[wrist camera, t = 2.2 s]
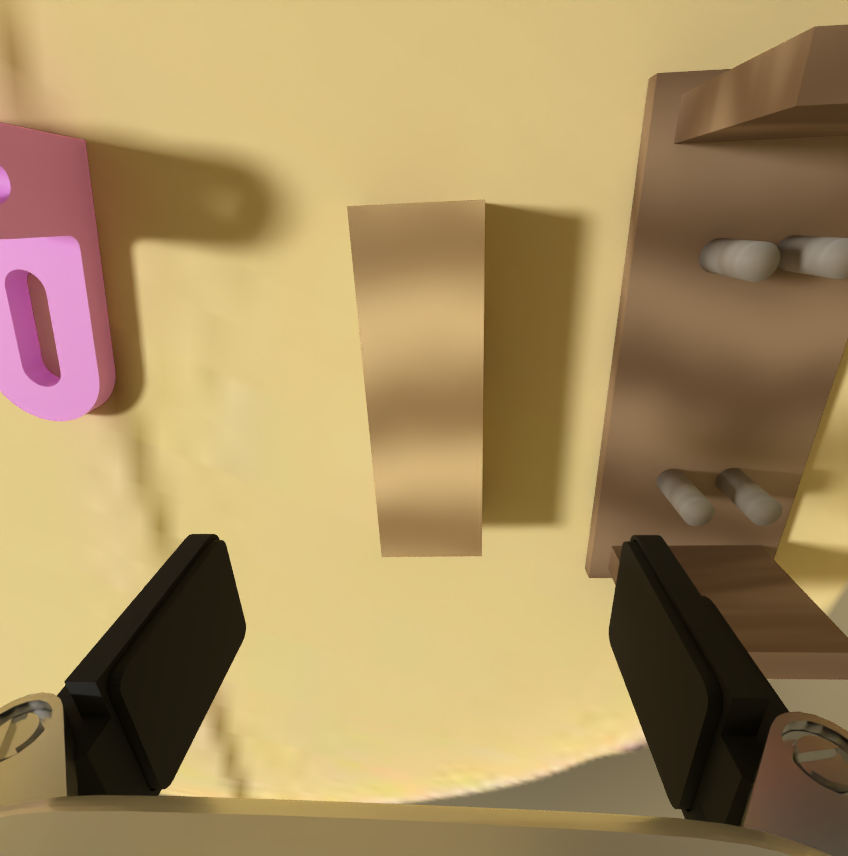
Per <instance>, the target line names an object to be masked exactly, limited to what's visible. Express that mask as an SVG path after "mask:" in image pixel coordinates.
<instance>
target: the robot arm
mask: <svg viewBox="0 0 848 856" xmlns="http://www.w3.org/2000/svg"><path fill="white" fill-rule="evenodd" d="M245 632H246V623H245V619H244V615H243V611H242V607H241V603H240V599H239V595H238V591H237V587H236V582H235V578H234V574H233V570H232V566H231V562H230V558H229V554H228V550H227V546H226V543H225V542H224V541H223V540H219V537H218V536H217V535H215V534H191V535H189V536H188V537H187V538H186V539H185V540H184V541H183V542H182V543H181V545H180V546H179V547H178V548H177V549H176V551H175V552H174V553H173V554H172V555H171V556H170V558H169V559H168V560H167V561H166V562H165V563H164V565H163V566H162V567H161V568H160V569H159V571H158V572H157V573H156V574H155V575H154V576H153V578H152V579H151V580H150V581H149V582H148V584H147V585H146V586H145V587H144V588H143V589H142V591H141V592H140V593H139V594H138V595H137V597H136V598H135V599H134V600H133V601H132V602H131V604H130V605H129V606H128V607H127V608H126V610H125V611H124V612H123V613H122V614H121V615H120V617H119V618H118V619H117V620H116V621H115V623H114V624H113V625H112V626H111V627H110V628H109V630H108V631H107V632H106V633H105V634H104V635H103V637H102V638H101V639H100V640H99V641H98V643H97V644H96V645H95V646H94V647H93V648H92V650H91V651H90V652H89V653H88V654H87V656H86V657H85V658H84V659H83V660H82V661H81V663H80V664H79V665H78V666H77V667H76V669H75V670H74V671H73V672H72V673H71V674H70V676H69V677H68V678H67V679H66V680H65V684H66V685H65V687H64V688H63V689H62V690H61V691H60V693H59V694H58V695H57V696H56V695H54V694H51V693H37V694H31V695H27V696H25V697H22V698H19V699H16V700H14V701H12V702H10V703H8V704H6V705H5V706H3V707H1V708H0V856H848V731H847V730H845V729H843V728H842V727H840V726H838V725H837V724H835V723H833V722H831V721H829V720H826V719H824V718H821V717H819V716H816V715H813V714H808V713H803V712H789V711H788V709H787V708H786V707H785V705H784V704H783V702H782V701H781V699H780V698H779V697H778V695H777V694H776V692H775V691H774V689H773V688H772V686H771V685H770V683H769V682H768V681H767V679H766V678H765V676H764V675H763V673H762V672H761V670H760V669H759V667H758V666H757V665H756V663H755V662H754V660H753V659H752V657H751V656H750V654H749V653H748V652H747V650H746V649H745V647H744V646H743V644H742V643H741V641H740V640H739V639H738V637H737V636H736V634H735V633H734V631H733V630H732V628H731V627H730V626H729V624H728V623H727V621H726V620H725V618H724V617H723V615H722V614H721V613H720V611H719V610H718V608H717V607H716V605H715V604H714V603H713V602H712V601H711V599H710V598H708V597H706V596H701V594H700V593H699V591H698V590H697V588H696V587H695V585H694V584H693V582H692V581H691V579H690V578H689V576H688V575H687V573H686V572H685V570H684V569H683V567H682V566H681V564H680V563H679V561H678V560H677V558H676V557H675V555H674V554H673V552H672V551H671V549H670V548H669V547H668V545H667V544H666V542H665V541H664V539H663V538H662V537H661V536H660V535H633V536H632V537H631V539H630V541H625V542H623V544H622V549H621V556H620V562H619V568H618V575H617V581H616V587H615V594H614V600H613V606H612V613H611V619H610V625H609V639H610V644H611V647H612V650H613V653H614V655H615V658H616V661H617V663H618V666H619V669H620V671H621V674H622V677H623V679H624V682H625V685H626V687H627V690H628V692H629V695H630V698H631V700H632V703H633V706H634V708H635V711H636V714H637V716H638V719H639V722H640V724H641V727H642V730H643V732H644V735H645V738H646V740H647V743H648V746H649V748H650V751H651V754H652V756H653V759H654V761H655V764H656V767H657V769H658V772H659V775H660V777H661V780H662V783H663V785H664V788H665V791H666V793H667V796H668V798H669V801H670V803H671V805H672V806H673V807H674V808H675V809H682V812H683V814H684V817H685V819H679V818H665V817H649V816H634V815H619V814H602V813H588V812H566V811H565V812H564V811H543V810H521V809H499V808H477V807H476V808H475V807H456V806H454V807H453V806H430V805H406V804H382V803H356V802H330V801H304V800H275V799H245V798H215V797H185V796H158V795H159V793H160V791H161V790H162V789H166V788H167V787H168V786H169V785H170V784H171V783H172V781H173V779H174V777H175V775H176V773H177V771H178V769H179V767H180V765H181V763H182V761H183V759H184V757H185V755H186V753H187V751H188V749H189V747H190V745H191V743H192V741H193V739H194V737H195V735H196V733H197V731H198V729H199V727H200V725H201V723H202V721H203V719H204V717H205V715H206V713H207V711H208V710H209V708H210V706H211V704H212V702H213V700H214V698H215V696H216V694H217V692H218V690H219V688H220V686H221V684H222V682H223V680H224V678H225V676H226V674H227V672H228V670H229V668H230V666H231V664H232V662H233V660H234V658H235V656H236V654H237V652H238V650H239V648H240V646H241V644H242V642H243V639H244V637H245Z"/></svg>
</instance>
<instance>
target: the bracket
mask: <svg viewBox="0 0 848 856" xmlns="http://www.w3.org/2000/svg"><path fill="white" fill-rule="evenodd" d="M29 272H30V273H32V274H33V275H35V276H36V277H37V278H38V279H39V280H40V281H41V283H42V284H43V286H44V288H45V290H46V294H47V300H48V305H49V311H50V316H51V322H52V327H53V333H54V338H55V344H56V349H57V355H58V360H59V366H60V371H61V378H60V377H57V376H55V375H54V374H52V373H51V372H50V371H49V370H48V369H47V368H46V367H45V365H44V363H43V360H42V356H41V351H40V345H39V340H38V335H37V330H36V325H35V320H34V315H33V310H32V305H31V299H30V294H29V289H28V284H27V276H28V274H29ZM115 378H116V374H115V364H114V357H113V349H112V341H111V334H110V326H109V318H108V310H107V303H106V295H105V287H104V280H103V272H102V264H101V256H100V249H99V241H98V233H97V226H96V218H95V210H94V202H93V195H92V187H91V179H90V172H89V164H88V156H87V149H86V141H85V140H83V139H78V138H73V137H68V136H63V135H59V134H54V133H49V132H44V131H39V130H34V129H30V128H25V127H20V126H15V125H10V124H5V123H1V122H0V391H1V392H2V394H3V395H4V396H5V397H7V398H8V399H9V400H10V401H11V402H12V403H13V404H15V405H16V406H18V407H19V408H21V409H22V410H24V411H26V412H28V413H30V414H32V415H34V416H36V417H39V418H42V419H46V420H52V421H69V420H73V419H77V418H79V417H81V416H83V415H85V414H87V413H88V412H90V411H92V410H94V409H96V408H97V407H99V406H101V405H102V404H103V403H105V402H106V401H107V399H108V398H109V397H110V395H111V393H112V391H113V389H114V386H115Z"/></svg>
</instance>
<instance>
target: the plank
mask: <svg viewBox="0 0 848 856" xmlns="http://www.w3.org/2000/svg"><path fill="white" fill-rule="evenodd" d="M347 210H348V220H349V230H350V240H351V250H352V260H353V270H354V280H355V290H356V301H357V311H358V321H359V331H360V341H361V351H362V361H363V371H364V381H365V391H366V401H367V411H368V422H369V432H370V442H371V452H372V462H373V472H374V482H375V492H376V502H377V512H378V522H379V532H380V543H381V553H382V557H434V556H482V466H483V362H484V259H485V200H468V201H448V202H427V203H406V204H385V205H365V206H347Z"/></svg>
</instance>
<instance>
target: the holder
mask: <svg viewBox="0 0 848 856" xmlns="http://www.w3.org/2000/svg"><path fill="white" fill-rule="evenodd" d="M847 340H848V25H834V26H818V27H813V28H811V29H809V30H807V31H805V32H803V33H801V34H799V35H798V36H796V37H794V38H792V39H790V40H788V41H786V42H784V43H782V44H780V45H778V46H776V47H774V48H772V49H770V50H768V51H766V52H764V53H762V54H760V55H758V56H756V57H754V58H752V59H750V60H748V61H746V62H744V63H742V64H740V65H739V66H737V67H735V68H733V69H723V70H706V71H688V72H670V73H657V74H656V75H654V76H653V77H651V78H650V79H649V82H648V90H647V98H646V105H645V113H644V121H643V128H642V136H641V144H640V151H639V159H638V167H637V174H636V182H635V190H634V197H633V205H632V213H631V221H630V228H629V236H628V244H627V251H626V259H625V267H624V274H623V282H622V290H621V297H620V305H619V313H618V320H617V328H616V336H615V343H614V351H613V359H612V367H611V374H610V382H609V390H608V397H607V405H606V413H605V420H604V428H603V436H602V443H601V451H600V459H599V466H598V474H597V482H596V489H595V497H594V505H593V512H592V520H591V528H590V536H589V543H588V551H587V559H586V566H585V569H586V572H587V574H588V577H589V578H613V580H614V583H615V585H616V581H617V575H618V568H619V562H620V556H621V549H622V544H623V542H625V541H630V539H631V537H632V536H633V535H660V536H661V537H662V538H663V539H664V541H665V542H666V544H667V545H668V547H669V548H670V549H671V551H672V552H673V554H674V555H675V557H676V558H677V560H678V561H679V563H680V564H681V566H682V567H683V569H684V570H685V572H686V573H687V575H688V576H689V578H690V579H691V581H692V582H693V584H694V585H695V587H696V588H697V590H698V591H699V593H700V594H701V596H706V597H708V598H710V599H711V601H712V602H713V603H714V604H715V605H716V607H717V608H718V610H719V611H720V613H721V614H722V615H723V617H724V618H725V620H726V621H727V623H728V624H729V626H730V627H731V628H732V630H733V631H734V633H735V634H736V636H737V637H738V639H739V640H740V641H741V643H742V644H743V646H744V647H745V649H746V650H747V652H748V653H749V654H750V656H751V657H752V659H753V660H754V662H755V663H756V665H757V666H758V667H759V669H760V670H761V672H762V673H763V675H764V676H765V678H766V679H845V680H848V637H847V636H846V635H845V634H844V633H843V632H842V631H841V630H840V629H839V628H838V627H837V626H836V625H835V624H834V623H833V622H832V621H831V619H829V617H828V616H827V615H826V614H825V613H824V612H823V611H822V610H821V609H820V608H819V607H818V606H817V605H816V604H815V603H814V602H813V601H812V600H811V598H810V597H809V596H808V595H807V594H806V593H805V592H804V591H803V590H802V589H801V588H800V587H799V586H798V585H797V584H796V583H795V582H794V581H793V580H792V579H791V577H790V576H789V575H788V574H787V573H786V572H785V571H784V570H783V569H782V568H781V567H780V566H779V565H778V564H777V563H776V562H775V561H774V557H775V554H776V551H777V548H778V545H779V542H780V539H781V536H782V533H783V530H784V527H785V524H786V521H787V518H788V515H789V512H790V509H791V506H792V503H793V500H794V498H795V495H796V492H797V489H798V486H799V483H800V480H801V477H802V474H803V471H804V468H805V465H806V462H807V459H808V456H809V453H810V450H811V447H812V444H813V441H814V438H815V435H816V432H817V429H818V426H819V423H820V420H821V417H822V414H823V411H824V408H825V405H826V402H827V399H828V396H829V393H830V390H831V387H832V384H833V381H834V378H835V375H836V372H837V369H838V366H839V364H840V361H841V358H842V355H843V352H844V349H845V346H846V343H847Z"/></svg>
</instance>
